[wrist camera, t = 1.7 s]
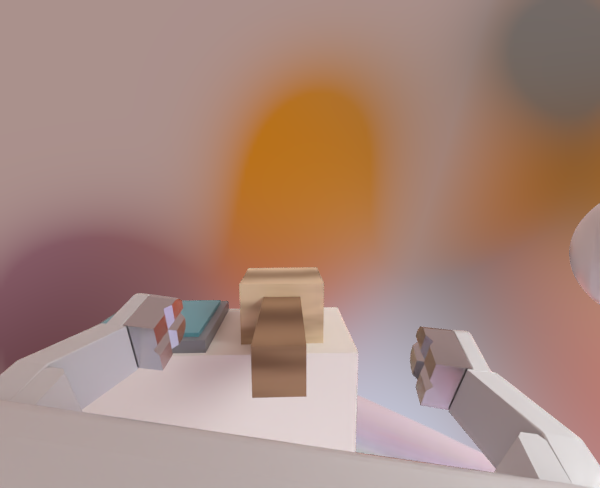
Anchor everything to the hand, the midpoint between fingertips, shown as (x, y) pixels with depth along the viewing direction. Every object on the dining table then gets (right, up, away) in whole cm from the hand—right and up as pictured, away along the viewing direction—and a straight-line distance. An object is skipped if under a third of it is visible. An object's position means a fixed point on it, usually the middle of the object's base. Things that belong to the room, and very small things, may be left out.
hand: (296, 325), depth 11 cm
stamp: (-2, -7, +18) cm, 20 cm away
